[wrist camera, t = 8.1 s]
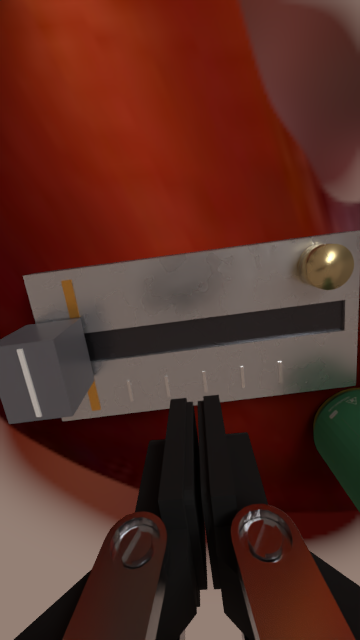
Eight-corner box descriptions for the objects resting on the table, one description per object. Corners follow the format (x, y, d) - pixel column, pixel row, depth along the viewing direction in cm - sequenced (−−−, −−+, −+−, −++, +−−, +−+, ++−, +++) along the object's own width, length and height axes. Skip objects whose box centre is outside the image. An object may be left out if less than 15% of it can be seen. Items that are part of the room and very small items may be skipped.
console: (344, 231, 22) (378, 229, 18) (342, 374, 25) (370, 397, 21) (36, 273, 22) (8, 279, 19) (71, 407, 26) (53, 435, 22)
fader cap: (80, 318, 21) (52, 340, 16) (94, 379, 22) (72, 417, 17) (26, 325, 21) (-18, 349, 16) (43, 386, 22) (7, 425, 18)
